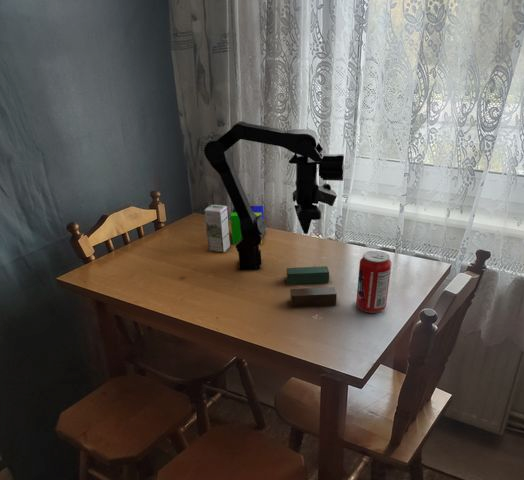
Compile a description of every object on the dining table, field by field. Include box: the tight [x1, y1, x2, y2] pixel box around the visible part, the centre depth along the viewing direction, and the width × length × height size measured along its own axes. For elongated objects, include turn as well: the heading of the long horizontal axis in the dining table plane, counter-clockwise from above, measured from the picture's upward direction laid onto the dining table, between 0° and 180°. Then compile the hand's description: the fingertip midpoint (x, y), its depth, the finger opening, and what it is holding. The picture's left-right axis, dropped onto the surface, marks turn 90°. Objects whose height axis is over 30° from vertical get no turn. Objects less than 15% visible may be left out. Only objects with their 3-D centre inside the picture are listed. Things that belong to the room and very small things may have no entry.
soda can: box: [355, 250, 392, 314], centre depth 127 cm, size 8×8×15 cm
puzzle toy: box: [230, 205, 265, 245], centre depth 170 cm, size 10×10×10 cm
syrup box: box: [204, 204, 231, 253], centre depth 162 cm, size 6×6×14 cm
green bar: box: [286, 265, 330, 286], centre depth 144 cm, size 12×4×4 cm, turn 92°
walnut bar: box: [289, 286, 337, 308], centre depth 133 cm, size 12×4×4 cm, turn 92°
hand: (305, 232), depth 145 cm, fingers closed
